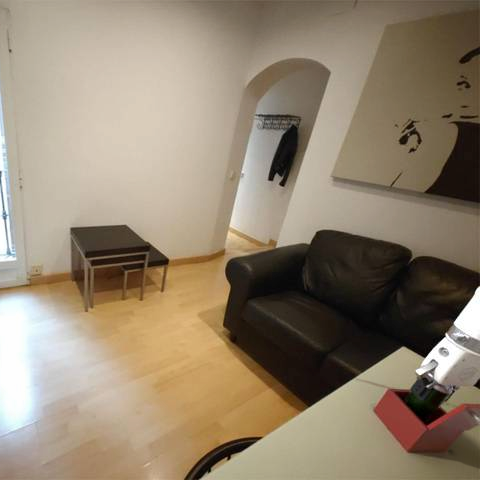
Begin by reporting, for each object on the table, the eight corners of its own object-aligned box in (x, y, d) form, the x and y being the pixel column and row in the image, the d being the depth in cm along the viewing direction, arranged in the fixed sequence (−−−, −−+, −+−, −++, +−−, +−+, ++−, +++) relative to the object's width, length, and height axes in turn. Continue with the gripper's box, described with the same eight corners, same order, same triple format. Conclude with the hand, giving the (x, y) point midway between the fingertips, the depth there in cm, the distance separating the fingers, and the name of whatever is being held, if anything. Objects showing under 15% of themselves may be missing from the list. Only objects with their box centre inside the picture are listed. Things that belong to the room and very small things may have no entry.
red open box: (372, 410, 73) (388, 388, 69) (405, 411, 74) (422, 389, 70) (406, 452, 63) (426, 429, 60) (444, 452, 65) (465, 429, 61)
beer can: (402, 415, 66) (428, 382, 62) (397, 399, 71) (421, 367, 66) (430, 428, 64) (459, 395, 60) (422, 410, 69) (449, 378, 64)
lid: (462, 403, 54) (489, 431, 50) (504, 404, 56) (533, 432, 52) (426, 426, 60) (447, 452, 56) (465, 426, 61) (488, 452, 57)
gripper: (458, 351, 53) (411, 410, 60) (526, 355, 56) (473, 411, 63) (422, 325, 60) (384, 381, 67) (483, 330, 62) (440, 383, 69)
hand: (427, 395), depth 65 cm, fingers closed on beer can, 5 cm apart
